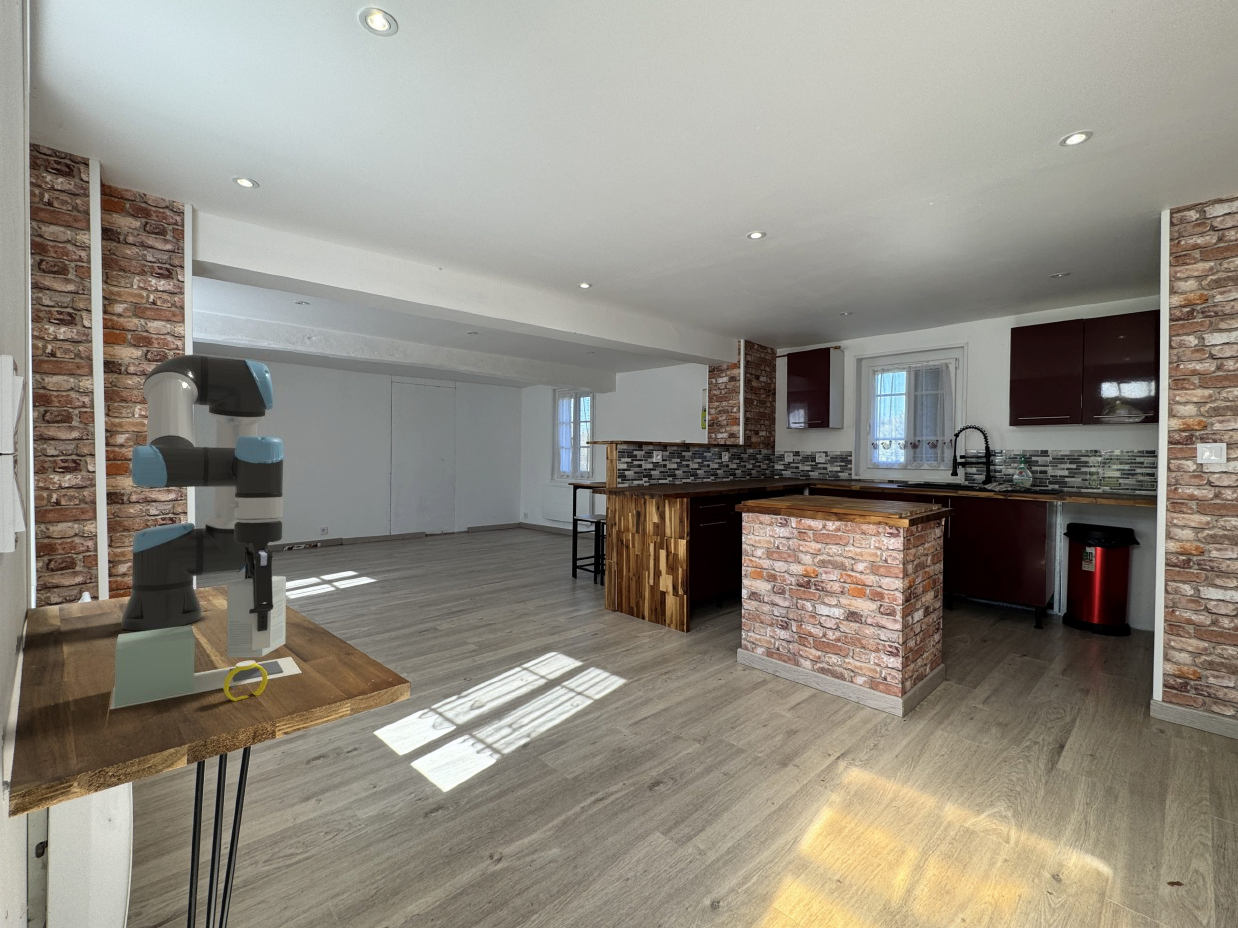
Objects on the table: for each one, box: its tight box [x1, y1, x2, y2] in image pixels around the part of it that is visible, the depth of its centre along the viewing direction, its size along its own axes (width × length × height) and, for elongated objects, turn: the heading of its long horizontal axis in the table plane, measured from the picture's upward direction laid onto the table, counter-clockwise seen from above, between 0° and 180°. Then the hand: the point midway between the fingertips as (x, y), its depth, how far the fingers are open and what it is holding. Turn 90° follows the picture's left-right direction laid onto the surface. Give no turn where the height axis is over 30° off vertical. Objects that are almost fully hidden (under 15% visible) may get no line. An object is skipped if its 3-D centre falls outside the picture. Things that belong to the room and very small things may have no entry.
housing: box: [114, 624, 196, 707], centre depth 97 cm, size 10×10×9 cm
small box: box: [226, 575, 287, 658], centre depth 106 cm, size 8×6×13 cm
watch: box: [222, 659, 269, 702], centre depth 95 cm, size 6×3×6 cm, turn 141°
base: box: [109, 656, 303, 710], centre depth 102 cm, size 11×26×1 cm, turn 129°
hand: (256, 641), depth 106 cm, fingers closed on small box, 10 cm apart
